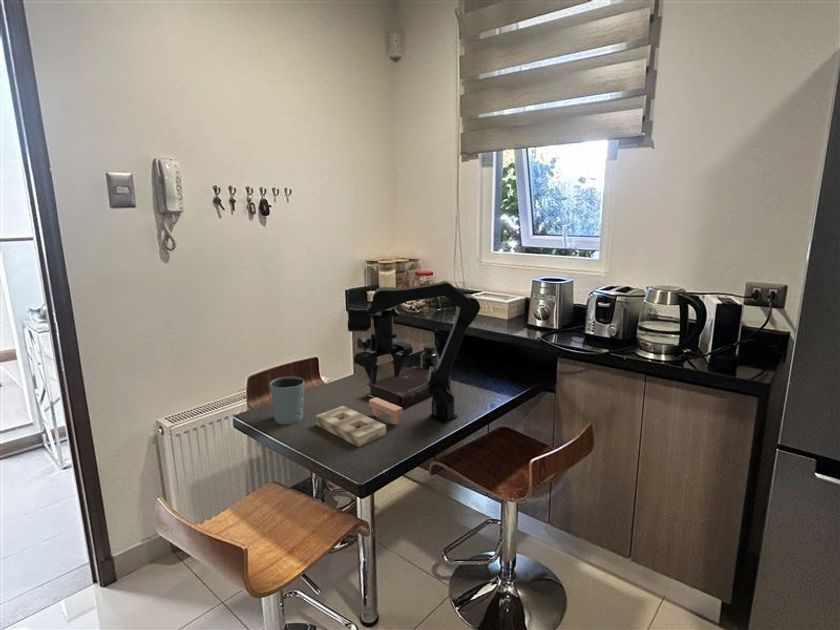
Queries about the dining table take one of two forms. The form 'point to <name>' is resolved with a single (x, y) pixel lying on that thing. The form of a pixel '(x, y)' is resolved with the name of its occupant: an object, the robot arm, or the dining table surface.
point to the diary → (403, 387)
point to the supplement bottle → (429, 357)
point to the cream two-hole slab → (351, 425)
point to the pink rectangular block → (386, 409)
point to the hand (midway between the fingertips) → (385, 380)
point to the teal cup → (287, 399)
